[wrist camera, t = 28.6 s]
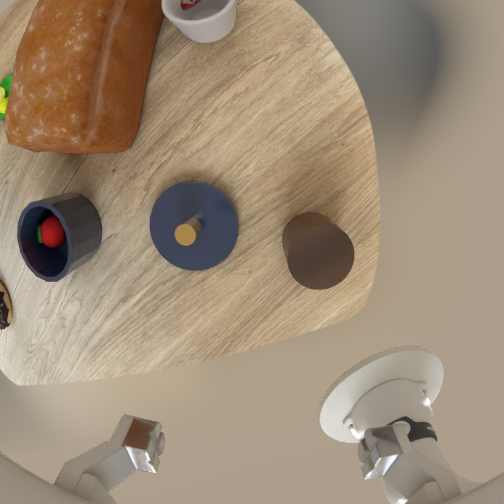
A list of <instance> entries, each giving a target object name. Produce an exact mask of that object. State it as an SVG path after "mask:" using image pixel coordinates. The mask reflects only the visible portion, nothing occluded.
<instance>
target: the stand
mask: <svg viewBox="0 0 504 504" xmlns="http://www.w3.org/2000/svg"><path fill="white" fill-rule="evenodd" d="M282 243H283V248H284V252H285V256H286V259H287V263H288V267H289V270H290V272H291V274H292V276H293V277H294V279H295V280H296V281H297V282H298V283H300V284H301V285H303V286H305V287H307V288H310V289H316V290H322V289H327V288H331V287H333V286H335V285H337V284H338V283H340V282H341V281H342V280H343V279H344V278H345V277H346V276H347V275H348V273H349V272H350V270H351V268H352V265H353V261H354V248H353V244H352V242H351V240H350V238H349V237H348V235H347V234H346V233H345V232H344V231H342V230H341V229H340V228H339V227H338V226H337V225H335V224H334V223H333V222H332V221H331V220H330V219H328V218H327V217H326V216H324V215H322V214H319V213H315V212H307V213H303V214H300V215H298V216H296V217H295V218H293V219H292V220H291V221H290V222H289V223H288V225H287V226H286V228H285V230H284V233H283V238H282Z"/></svg>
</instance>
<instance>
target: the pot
mask: <svg viewBox="0 0 504 504" xmlns="http://www.w3.org/2000/svg"><path fill="white" fill-rule="evenodd" d="M52 216H56V217H58V218H59V220H60V222H61V224H62V226H63V228H64V230H65V232H66V237H67V238H66V240H65V242H64V243H63V244H62V245H61V246H59V247H57V248H51V247H48V246H46V245H45V244H44V243H41V244H40V243H39V239H38V225H42V223H43V222H44V221H45V220H46V219H47V218H49V217H52ZM17 238H18V244H19V248H20V253H21V255H22V257H23V259H24V261H25V263H26V265H27V266H28V268H29V269H30V270H31V271H32V272H33V273H34V274H35V275H36V276H37V277H39V278H41V279H43V280H45V281H47V282H57V281H59V280H61V279H62V278H63V277H65V276H66V275H68V274H69V273H71V272H72V271H73V270H75V269H76V268H78V267H79V266H81V265H82V264H84V263H85V262H87V261H88V260H90V259H91V258H93V256H94V255H95V254H96V252H97V251H98V249H99V246H100V243H101V238H102V227H101V221H100V218H99V215H98V213H97V210H96V209H95V207H94V206H93V204H92V203H91V202H90V201H89V200H88V199H87V198H86V197H84V196H83V195H81V194H78V193H71V192H70V193H66V194H61V195H57V196H53V197H50V198H46V199H42V200H38V201H35V202H31V203H29V204H28V206H27V207H26V208H25V209H24V210H23V211H22V213H21V216H20V219H19V222H18V230H17Z"/></svg>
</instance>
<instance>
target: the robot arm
mask: <svg viewBox="0 0 504 504" xmlns="http://www.w3.org/2000/svg"><path fill="white" fill-rule="evenodd" d="M427 388H428V385H427V383H426V381H418V382H415V381H412V380H409V379H395V380H391V381H388V382H385V383H382V384H380V385H378V386H376V387H375V388H373V389H371V390H370V391H369V392H367V393H366V394H365V395H364V396H362V397H361V398H360V400H359V401H358V402H357V403H356V405H355V406H354V408H353V410H352V412H351V413H350V414H349V415H348V416H347V417H346V418H345V419H344V420H343V424H344V426H345V427H346V428H347V429H348V430H349V431H350V432H352V433H353V434H354V435H355V436H356V437H357V439H358V442H359V445H358V456H359V460H361V461H362V462H363V463H364V464H363V466H362V471H363V475H364V479H370V478H376V477H381V480H382V483H383V487H384V490H385V494H386V497H387V499H388V501H389V502H390V503H392V504H504V472H502V473H500V474H499V475H497V476H495V477H494V478H492V479H490V480H488V481H486V482H485V483H478V482H473V481H470V480H467V479H465V478H463V477H461V476H459V475H458V474H457V473H456V472H455V471H454V470H453V469H452V468H451V466H450V465H449V464H448V462H447V460H446V459H445V457H444V455H443V454H442V452H441V450H440V448H439V446H438V444H437V437H436V434H435V431H434V429H433V428H432V426H431V424H430V422H431V418H432V415H433V411H432V409H431V407H430V405H429V400H428V399H426V394H427ZM161 428H162V427H161V424H160V422H155V421H151V420H147V419H142V418H138V417H134V416H130V415H126V414H125V415H123V416H122V417H121V419H120V421H119V423H118V425H117V427H116V429H115V432H114V433H113V435H112V437H111V440H110V442H107V441H106V442H104V443H102V444H100V445H99V446H97V447H95V448H93V449H91V450H89V451H87V452H85V453H83V454H82V455H80V456H78V457H76V458H74V459H72V460H70V461H68V462H66V463H65V464H64V466H63V468H62V470H61V471H60V473H59V475H58V477H57V479H56V481H55V483H54V484H51V483H50V482H48V481H46V480H44V479H42V478H40V477H39V476H37V475H35V474H33V473H32V472H30V471H28V470H27V469H25V468H23V467H22V466H20V465H19V464H17V463H16V462H14V461H13V460H11V459H10V458H8V457H7V456H5V455H4V454H2V453H1V452H0V504H116V501H115V500H114V499H113V497H112V496H111V495H110V494H109V493H108V492H109V491H110V490H112V489H113V488H114V487H116V486H117V485H118V484H120V483H121V482H122V481H124V480H125V479H126V478H128V477H129V476H130V475H131V474H132V473H134V472H135V471H136V469H137V470H141V471H145V472H150V473H155V474H156V472H157V469H158V466H159V463H160V461H159V458H158V456H159V455H161V454H162V453H163V450H164V444H165V438H164V434H163V433H162V432H161Z"/></svg>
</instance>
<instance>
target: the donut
mask: <svg viewBox="0 0 504 504" xmlns="http://www.w3.org/2000/svg"><path fill="white" fill-rule="evenodd" d="M11 320H12V309H11V303H10V300H9V296H8V294H7V291H6V289H5V287H4V286H3V284H2V283H1V282H0V329H1V330H2V329H5V328H6V327H9V325H10V323H11Z"/></svg>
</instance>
